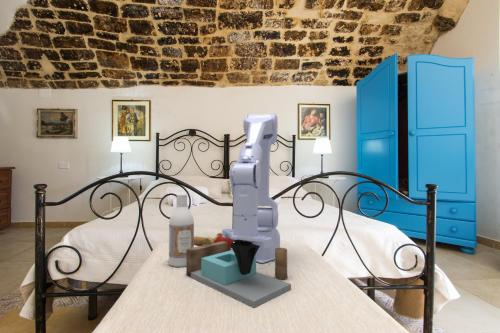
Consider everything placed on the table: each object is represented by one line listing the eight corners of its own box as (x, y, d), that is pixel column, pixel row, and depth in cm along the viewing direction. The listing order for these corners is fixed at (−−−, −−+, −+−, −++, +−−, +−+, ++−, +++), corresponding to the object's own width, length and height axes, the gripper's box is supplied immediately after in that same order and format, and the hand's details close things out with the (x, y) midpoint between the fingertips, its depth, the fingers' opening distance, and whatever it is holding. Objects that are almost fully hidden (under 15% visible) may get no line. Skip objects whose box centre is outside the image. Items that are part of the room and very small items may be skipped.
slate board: (222, 264, 79) (222, 260, 79) (291, 289, 62) (290, 284, 62) (186, 275, 70) (186, 270, 71) (253, 307, 54) (253, 301, 54)
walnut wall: (222, 264, 79) (222, 241, 79) (227, 265, 78) (227, 242, 78) (186, 275, 70) (186, 249, 71) (190, 277, 69) (190, 250, 69)
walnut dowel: (280, 274, 71) (280, 247, 71) (289, 277, 69) (289, 249, 69) (272, 277, 69) (272, 249, 69) (282, 280, 67) (282, 251, 67)
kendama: (185, 250, 98) (221, 253, 87) (187, 232, 99) (222, 232, 88) (202, 250, 104) (238, 252, 92) (203, 232, 105) (238, 232, 94)
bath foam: (172, 269, 75) (172, 195, 75) (166, 262, 81) (167, 193, 81) (196, 265, 78) (197, 194, 79) (189, 258, 84) (190, 192, 85)
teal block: (232, 264, 75) (232, 250, 75) (256, 273, 68) (256, 257, 68) (201, 274, 68) (201, 258, 68) (224, 285, 61) (225, 266, 61)
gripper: (212, 213, 66) (212, 269, 66) (256, 220, 56) (256, 287, 56) (234, 210, 72) (234, 263, 71) (278, 216, 61) (278, 278, 61)
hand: (245, 273), depth 64 cm, fingers closed
